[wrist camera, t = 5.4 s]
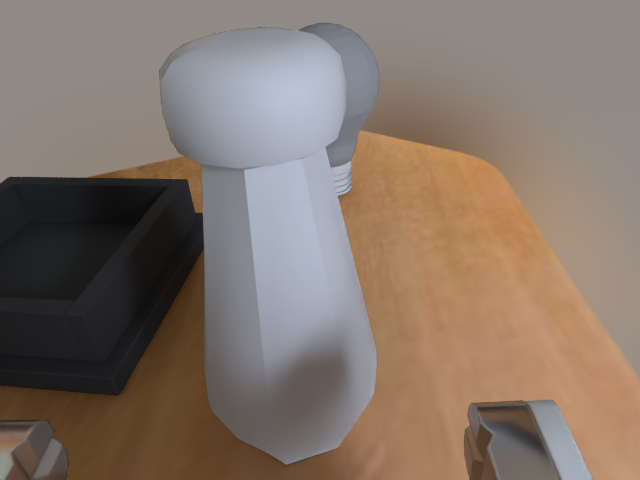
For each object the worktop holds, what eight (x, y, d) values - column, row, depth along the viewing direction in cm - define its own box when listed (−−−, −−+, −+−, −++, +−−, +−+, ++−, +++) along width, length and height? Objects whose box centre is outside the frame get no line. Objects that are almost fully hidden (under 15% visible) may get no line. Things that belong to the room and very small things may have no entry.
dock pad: (215, 227, 29) (204, 173, 27) (119, 396, 20) (91, 330, 18) (29, 221, 31) (6, 170, 29) (-145, 373, 21) (-197, 311, 19)
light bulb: (266, 209, 31) (243, 35, 25) (306, 167, 35) (293, 11, 30) (361, 225, 29) (358, 39, 23) (390, 177, 33) (393, 13, 28)
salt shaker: (242, 347, 21) (174, 15, 14) (379, 356, 20) (383, 6, 13) (195, 478, 17) (54, 78, 9) (371, 498, 16) (368, 73, 8)
